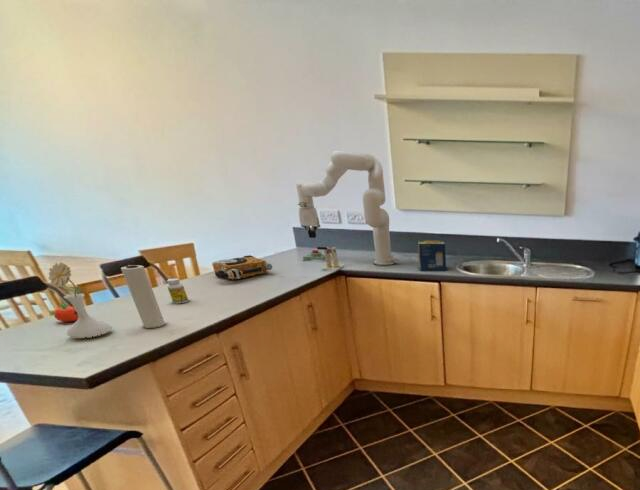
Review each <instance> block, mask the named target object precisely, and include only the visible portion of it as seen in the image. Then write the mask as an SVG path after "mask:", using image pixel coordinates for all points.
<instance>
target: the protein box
mask: <svg viewBox="0 0 640 490" xmlns="http://www.w3.org/2000/svg"><path fill="white" fill-rule="evenodd" d="M417 250H418V251H417V252H418V264H419V270H420V271H421V272H428V271H430V272H432V271H433V272H435V271H447V259H446V258H447V257H446V256H447V255H446V254H447V253H446V243H445V242H444V240H417Z"/></svg>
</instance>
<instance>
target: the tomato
mask: <svg viewBox="0 0 640 490" xmlns="http://www.w3.org/2000/svg"><path fill="white" fill-rule="evenodd" d="M53 316H54V318H55V320H58V321H60V322H64V323H72V322H76V321H77V320H78V314H77V311H76V309H75V308H74V306H68V305H67V306H66V305H65V304H64V303H62V304H61V307H57V308H56V309H55V310H54V314H53Z"/></svg>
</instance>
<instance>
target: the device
mask: <svg viewBox="0 0 640 490" xmlns="http://www.w3.org/2000/svg"><path fill="white" fill-rule="evenodd" d="M211 265H212V268H213V272H214V275H215V276H216V277H217V278H220V279H230V280H240V279H243V278H249V277H252V276H253V277H254V276H255V275H259V274H264V273H267V271H271V270H273V265H272V263H270V262H267V261H266V260H264V259H261V258H258V257H256V256H253V255H250V254H249V255H244V256H241V257H234V258H233V257H232V258H226V259H220V260H217V261H213V262H211Z"/></svg>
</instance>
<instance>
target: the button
mask: <svg viewBox="0 0 640 490" xmlns="http://www.w3.org/2000/svg"><path fill="white" fill-rule="evenodd" d="M311 252H312V253H319V252H320V251H319V249H312V250H311Z"/></svg>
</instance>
